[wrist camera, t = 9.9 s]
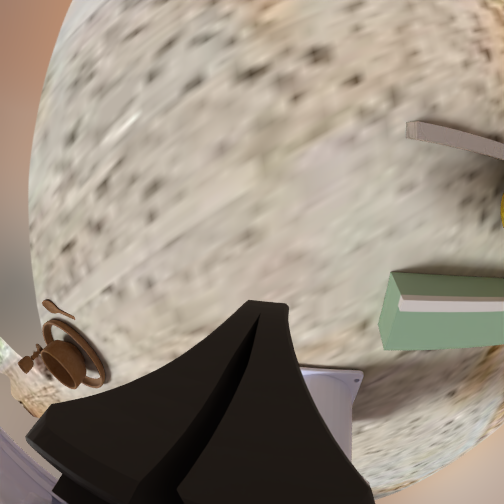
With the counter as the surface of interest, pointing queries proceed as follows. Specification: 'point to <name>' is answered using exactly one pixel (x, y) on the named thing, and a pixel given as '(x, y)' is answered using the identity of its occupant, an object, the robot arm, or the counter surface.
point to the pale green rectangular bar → (442, 312)
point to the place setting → (64, 355)
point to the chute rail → (454, 139)
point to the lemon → (502, 209)
